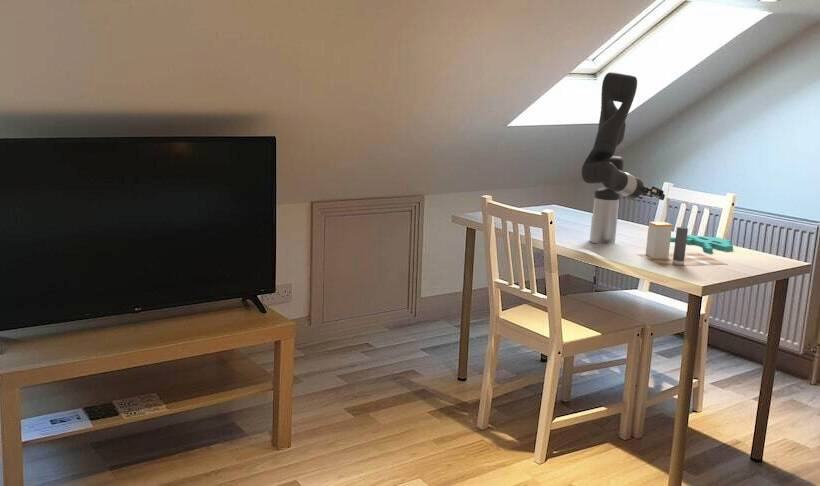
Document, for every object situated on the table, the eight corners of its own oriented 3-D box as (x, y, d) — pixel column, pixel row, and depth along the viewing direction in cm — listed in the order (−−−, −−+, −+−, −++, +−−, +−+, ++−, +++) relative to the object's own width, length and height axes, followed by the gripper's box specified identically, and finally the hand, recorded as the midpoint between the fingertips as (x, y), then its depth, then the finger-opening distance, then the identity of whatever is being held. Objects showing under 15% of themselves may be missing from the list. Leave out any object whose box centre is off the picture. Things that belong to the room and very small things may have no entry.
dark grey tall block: (670, 262, 279) (674, 227, 276) (679, 262, 280) (684, 226, 277) (676, 265, 275) (680, 229, 272) (686, 265, 276) (690, 229, 273)
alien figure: (708, 254, 303) (744, 250, 313) (708, 248, 302) (744, 244, 312) (667, 242, 320) (702, 239, 330) (667, 237, 319) (703, 233, 329)
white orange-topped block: (645, 254, 290) (649, 221, 287) (660, 254, 291) (664, 221, 288) (653, 257, 285) (656, 224, 282) (668, 257, 286) (672, 224, 284)
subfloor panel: (636, 258, 290) (637, 254, 289) (698, 256, 296) (698, 252, 296) (663, 270, 274) (664, 266, 273) (727, 268, 280) (728, 264, 280)
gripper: (647, 174, 269) (672, 187, 280) (611, 173, 280) (637, 185, 290) (642, 197, 269) (668, 208, 279) (606, 194, 280) (633, 205, 290)
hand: (652, 196), depth 285 cm, fingers open, 8 cm apart
